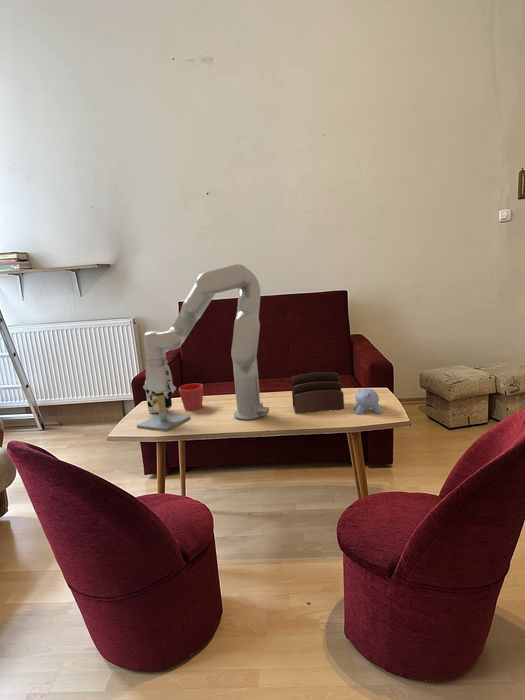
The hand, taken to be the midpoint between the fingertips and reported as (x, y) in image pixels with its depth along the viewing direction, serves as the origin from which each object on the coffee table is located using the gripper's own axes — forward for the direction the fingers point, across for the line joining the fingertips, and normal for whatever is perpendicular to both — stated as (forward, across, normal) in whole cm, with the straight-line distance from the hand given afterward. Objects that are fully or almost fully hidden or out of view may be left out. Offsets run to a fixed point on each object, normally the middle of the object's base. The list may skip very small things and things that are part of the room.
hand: (161, 405), depth 180 cm
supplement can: (+7, +13, -12) cm, 19 cm away
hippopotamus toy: (+7, -74, -35) cm, 82 cm away
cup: (+1, 0, +1) cm, 1 cm away
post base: (+7, 0, 0) cm, 7 cm away
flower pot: (+7, 0, -20) cm, 21 cm away
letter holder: (+7, -54, -32) cm, 63 cm away
